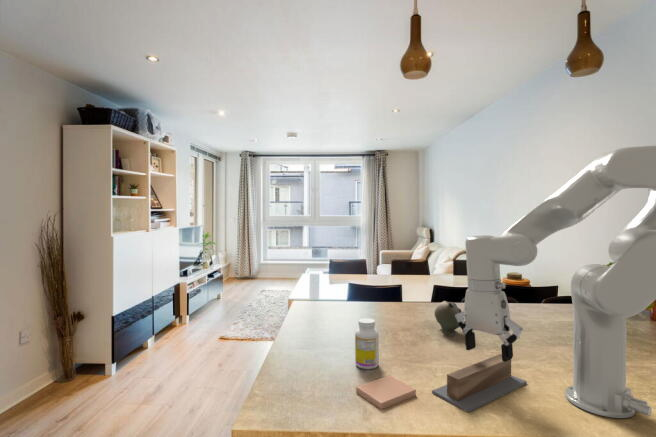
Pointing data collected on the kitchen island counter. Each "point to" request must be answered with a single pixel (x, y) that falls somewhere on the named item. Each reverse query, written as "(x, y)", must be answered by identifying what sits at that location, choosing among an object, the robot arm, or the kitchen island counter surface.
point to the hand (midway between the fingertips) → (488, 354)
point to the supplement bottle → (366, 344)
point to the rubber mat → (482, 394)
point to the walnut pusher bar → (477, 377)
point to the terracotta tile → (385, 391)
